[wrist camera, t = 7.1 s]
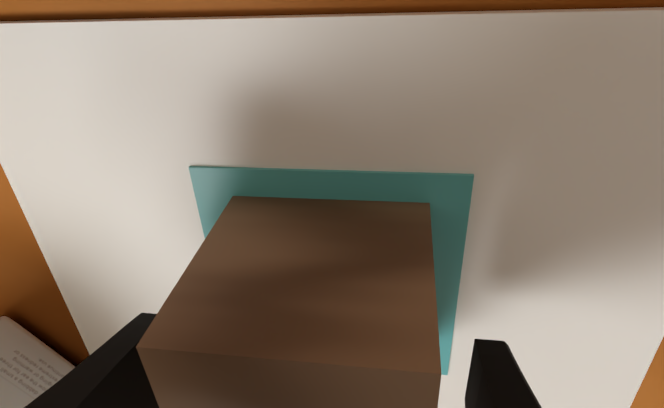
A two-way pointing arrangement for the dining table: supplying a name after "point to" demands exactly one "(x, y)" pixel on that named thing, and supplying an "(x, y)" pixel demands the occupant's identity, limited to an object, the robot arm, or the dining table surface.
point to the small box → (26, 365)
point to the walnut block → (302, 310)
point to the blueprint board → (364, 164)
